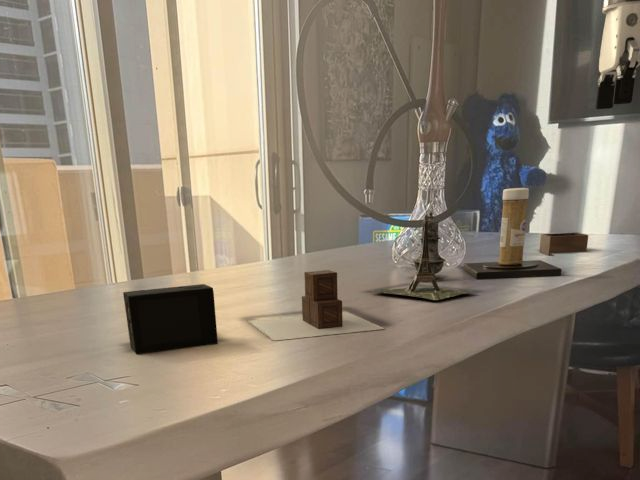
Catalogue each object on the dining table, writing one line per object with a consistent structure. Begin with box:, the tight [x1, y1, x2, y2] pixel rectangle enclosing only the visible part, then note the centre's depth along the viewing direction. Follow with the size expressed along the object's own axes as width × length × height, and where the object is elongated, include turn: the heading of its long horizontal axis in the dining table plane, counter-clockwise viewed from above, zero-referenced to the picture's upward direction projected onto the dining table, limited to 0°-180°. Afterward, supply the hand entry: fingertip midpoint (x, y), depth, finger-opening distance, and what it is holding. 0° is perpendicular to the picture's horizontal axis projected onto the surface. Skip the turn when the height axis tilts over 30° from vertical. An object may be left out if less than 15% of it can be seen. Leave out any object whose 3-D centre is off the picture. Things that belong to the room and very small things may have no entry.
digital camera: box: [122, 283, 219, 355], centre depth 86 cm, size 10×5×7 cm, turn 110°
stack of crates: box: [247, 269, 386, 342], centre depth 93 cm, size 15×15×7 cm
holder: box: [538, 232, 589, 256], centre depth 158 cm, size 8×8×4 cm
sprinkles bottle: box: [498, 187, 530, 265], centre depth 130 cm, size 5×5×14 cm
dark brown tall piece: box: [412, 211, 446, 283], centre depth 127 cm, size 6×6×12 cm
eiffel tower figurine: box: [372, 207, 473, 301], centre depth 111 cm, size 15×10×13 cm
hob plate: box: [463, 259, 562, 280], centre depth 133 cm, size 15×15×2 cm
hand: (612, 106), depth 133 cm, fingers open, 9 cm apart
